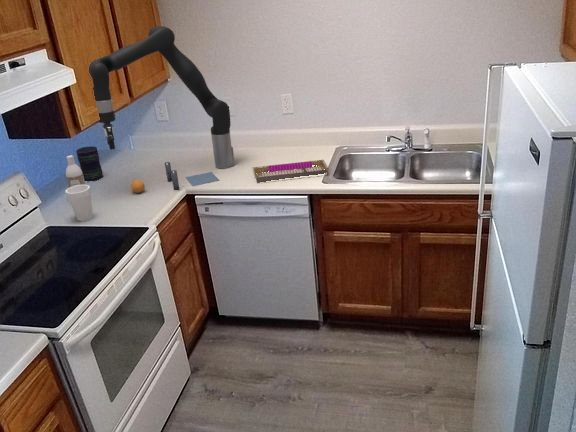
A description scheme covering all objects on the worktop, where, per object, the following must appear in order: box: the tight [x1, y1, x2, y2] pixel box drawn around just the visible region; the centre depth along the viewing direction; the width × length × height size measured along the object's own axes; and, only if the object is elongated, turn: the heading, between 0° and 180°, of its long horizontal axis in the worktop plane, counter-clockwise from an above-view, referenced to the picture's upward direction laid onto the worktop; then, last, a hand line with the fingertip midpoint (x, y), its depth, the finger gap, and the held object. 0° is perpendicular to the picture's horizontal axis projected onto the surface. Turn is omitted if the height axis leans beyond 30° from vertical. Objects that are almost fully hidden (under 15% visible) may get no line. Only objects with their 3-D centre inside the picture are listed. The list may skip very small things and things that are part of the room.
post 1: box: [164, 161, 172, 182], centre depth 249 cm, size 3×3×9 cm
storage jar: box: [75, 145, 104, 182], centre depth 257 cm, size 10×10×15 cm
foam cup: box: [64, 184, 94, 222], centre depth 215 cm, size 10×9×13 cm
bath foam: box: [65, 154, 86, 188], centre depth 234 cm, size 7×7×20 cm
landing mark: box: [185, 171, 220, 187], centre depth 250 cm, size 13×13×1 cm
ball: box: [130, 179, 145, 194], centre depth 239 cm, size 6×6×6 cm
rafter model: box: [251, 159, 331, 184], centre depth 247 cm, size 35×14×6 cm, turn 98°
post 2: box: [171, 169, 180, 191], centre depth 238 cm, size 3×3×9 cm
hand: (111, 146), depth 231 cm, fingers open, 8 cm apart
